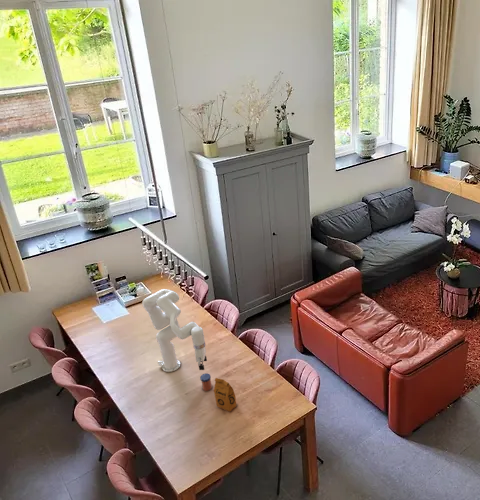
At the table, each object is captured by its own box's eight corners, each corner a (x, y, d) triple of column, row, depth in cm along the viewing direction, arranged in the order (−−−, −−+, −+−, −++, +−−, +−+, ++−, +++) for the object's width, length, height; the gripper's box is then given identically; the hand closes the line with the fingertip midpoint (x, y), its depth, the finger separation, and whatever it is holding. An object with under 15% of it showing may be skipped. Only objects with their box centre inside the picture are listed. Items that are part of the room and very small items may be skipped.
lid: (199, 382, 352) (199, 380, 351) (201, 375, 358) (201, 373, 357) (209, 381, 353) (209, 379, 352) (211, 375, 358) (211, 373, 358)
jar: (202, 391, 356) (200, 380, 352) (203, 384, 362) (201, 374, 357) (211, 390, 357) (209, 380, 352) (212, 384, 362) (210, 374, 357)
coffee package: (228, 414, 337) (224, 388, 327) (214, 407, 343) (210, 381, 333) (239, 404, 345) (235, 379, 334) (225, 397, 351) (221, 372, 340)
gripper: (196, 336, 349) (200, 356, 357) (190, 353, 334) (194, 374, 342) (207, 335, 349) (211, 356, 358) (202, 352, 334) (206, 374, 342)
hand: (203, 365), depth 350 cm, fingers open, 8 cm apart
